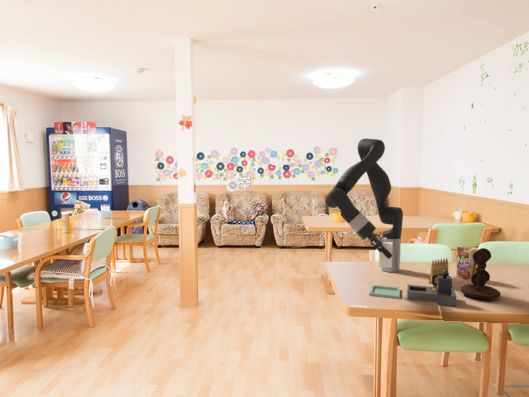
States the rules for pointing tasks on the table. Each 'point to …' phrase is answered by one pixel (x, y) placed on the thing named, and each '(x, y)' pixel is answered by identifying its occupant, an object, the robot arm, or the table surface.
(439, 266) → the ammunition clip
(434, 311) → the table surface
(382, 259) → the plug
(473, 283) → the turned wooden stand
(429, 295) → the grey charging dock
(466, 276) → the candy box
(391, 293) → the tray
